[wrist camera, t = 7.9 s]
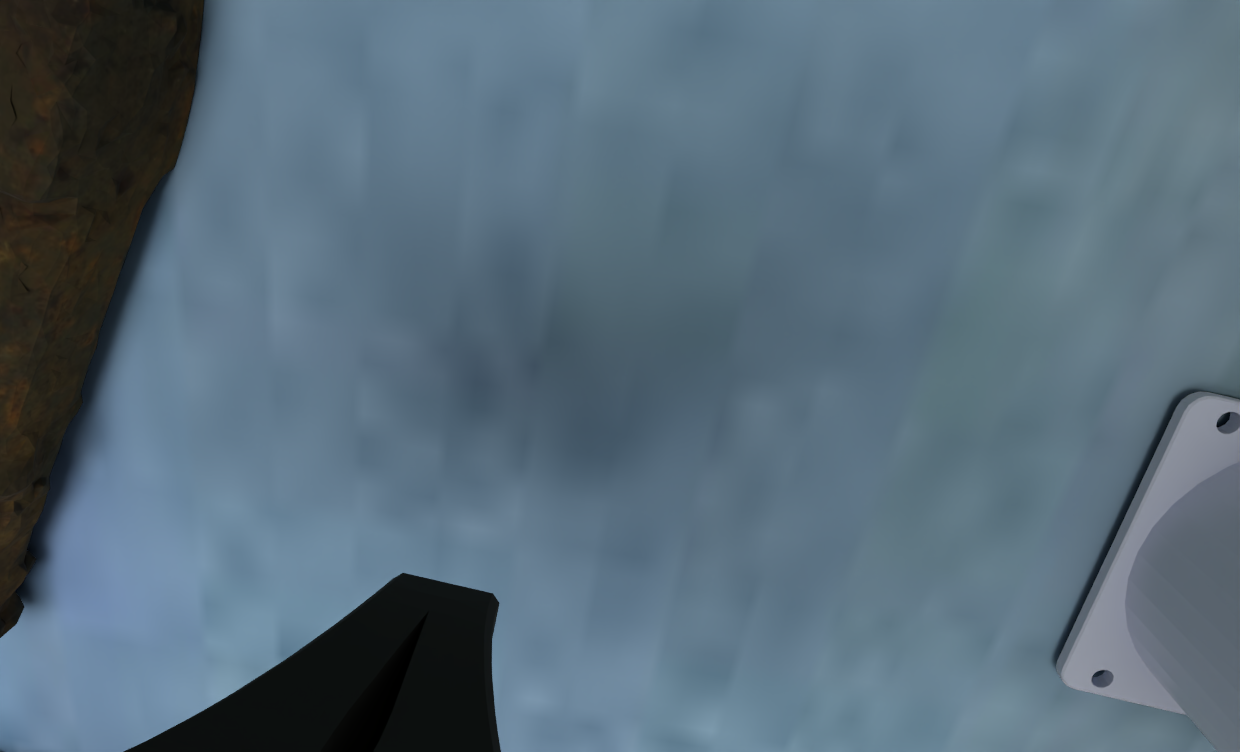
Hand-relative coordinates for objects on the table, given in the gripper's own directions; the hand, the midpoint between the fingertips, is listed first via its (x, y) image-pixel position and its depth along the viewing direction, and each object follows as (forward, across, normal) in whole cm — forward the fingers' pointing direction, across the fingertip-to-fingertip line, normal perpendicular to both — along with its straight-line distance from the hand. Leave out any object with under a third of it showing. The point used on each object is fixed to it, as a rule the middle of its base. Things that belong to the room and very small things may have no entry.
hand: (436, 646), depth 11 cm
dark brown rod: (+10, +12, 0) cm, 16 cm away
